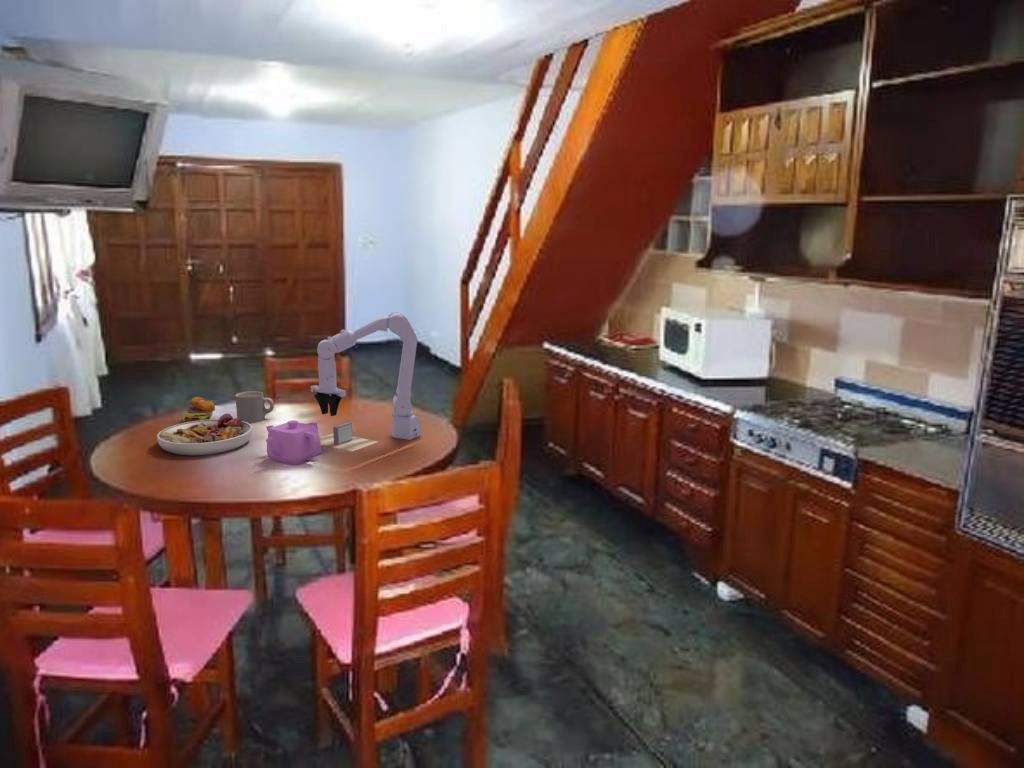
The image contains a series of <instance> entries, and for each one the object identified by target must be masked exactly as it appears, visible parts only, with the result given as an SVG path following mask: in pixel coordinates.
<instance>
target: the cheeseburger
mask: <svg viewBox="0 0 1024 768" xmlns="http://www.w3.org/2000/svg"><path fill="white" fill-rule="evenodd" d="M188 404H190V405H191V406H189V408H186V410H185V411H184V413H183V416H182V421H183V423H187V422H192V421H200V420H211V419H212V416H213V412H214V411H215V410H216V405H215V403H214V402H213V401H211V400H205V399H204V398H203V397H199V396H195V397H192V398H191V399H190V400H189V401H188Z"/></svg>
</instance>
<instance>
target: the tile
mask: <svg viewBox="0 0 1024 768" xmlns="http://www.w3.org/2000/svg"><path fill="white" fill-rule="evenodd" d="M332 429H333V430H332V431H333V433H334V444H337V445H339V444H342V443H344V442H347V441H350V440H352V436H353V423H352V422H349V421H347V422H344V423H341V424H338V425H334V426H333V427H332ZM333 433H332V434H333Z"/></svg>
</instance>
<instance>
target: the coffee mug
mask: <svg viewBox="0 0 1024 768" xmlns="http://www.w3.org/2000/svg"><path fill="white" fill-rule="evenodd" d="M266 402H268V403H269V406H270V407H269V408H266V405H265V403H266ZM235 406H236V418H239V419H240V420H241V421H244V422H247V423H249V424H254V423H255V424H256V423H260V422H263V421H265V419H266V417H265V416H266V415H268V414H270V413H271V412H272V411H273V410H274V407H275V405H274V400H273V399H272V398H270V397H264V393H263V392H262V391H256V390H253V391H251V390H250V391H244V392H242V391H241V392H239V393H236V394H235Z"/></svg>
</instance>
